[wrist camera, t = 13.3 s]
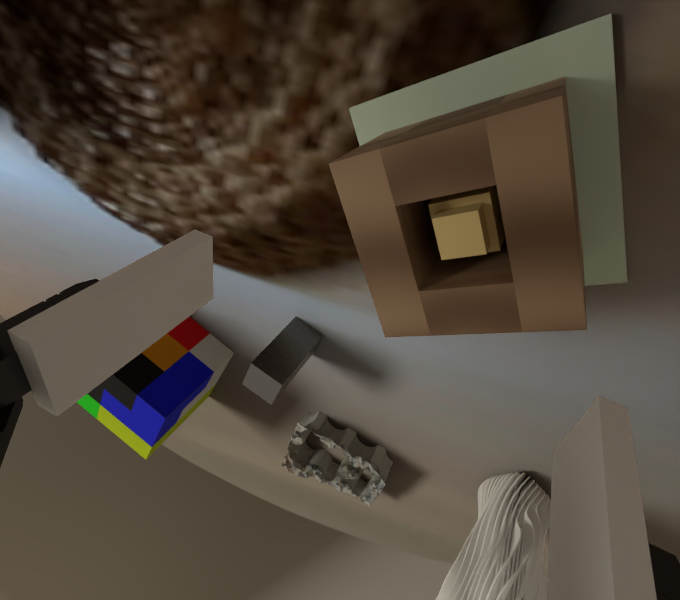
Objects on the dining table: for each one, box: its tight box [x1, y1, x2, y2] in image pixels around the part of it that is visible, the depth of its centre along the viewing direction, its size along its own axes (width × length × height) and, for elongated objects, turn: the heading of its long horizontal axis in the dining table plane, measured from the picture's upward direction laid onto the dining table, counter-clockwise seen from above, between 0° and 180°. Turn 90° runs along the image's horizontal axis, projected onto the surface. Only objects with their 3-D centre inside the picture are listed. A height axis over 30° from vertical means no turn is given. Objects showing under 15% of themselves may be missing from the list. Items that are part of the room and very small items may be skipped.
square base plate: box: [349, 13, 628, 286], centre depth 23 cm, size 14×14×8 cm
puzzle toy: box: [77, 317, 234, 459], centre depth 45 cm, size 10×10×10 cm
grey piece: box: [282, 411, 393, 507], centre depth 44 cm, size 11×8×4 cm
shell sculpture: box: [435, 472, 551, 600], centre depth 31 cm, size 8×8×18 cm
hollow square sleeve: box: [329, 77, 587, 337], centre depth 23 cm, size 10×10×8 cm
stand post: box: [242, 317, 323, 405], centre depth 37 cm, size 3×3×7 cm
